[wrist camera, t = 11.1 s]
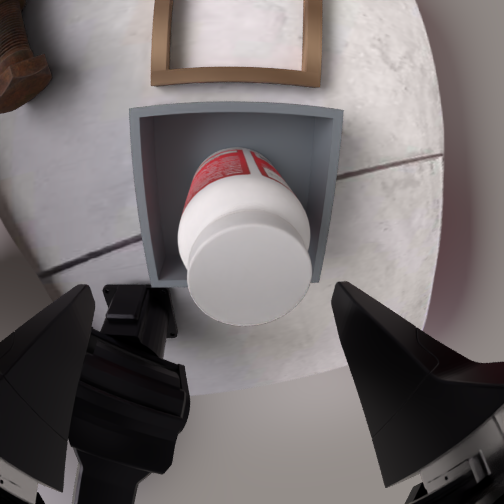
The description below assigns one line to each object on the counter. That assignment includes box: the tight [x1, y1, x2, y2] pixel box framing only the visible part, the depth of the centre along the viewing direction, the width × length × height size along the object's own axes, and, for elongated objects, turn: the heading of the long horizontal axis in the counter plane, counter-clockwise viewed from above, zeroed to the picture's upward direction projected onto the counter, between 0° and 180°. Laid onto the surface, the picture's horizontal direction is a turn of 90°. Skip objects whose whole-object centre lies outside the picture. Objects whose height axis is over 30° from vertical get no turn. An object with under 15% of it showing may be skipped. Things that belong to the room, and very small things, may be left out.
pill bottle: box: [178, 147, 312, 326], centre depth 15 cm, size 6×6×11 cm
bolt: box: [0, 0, 52, 114], centre depth 8 cm, size 6×5×15 cm
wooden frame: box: [151, 0, 322, 88], centre depth 13 cm, size 11×11×1 cm
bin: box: [129, 102, 344, 287], centre depth 18 cm, size 12×12×4 cm
